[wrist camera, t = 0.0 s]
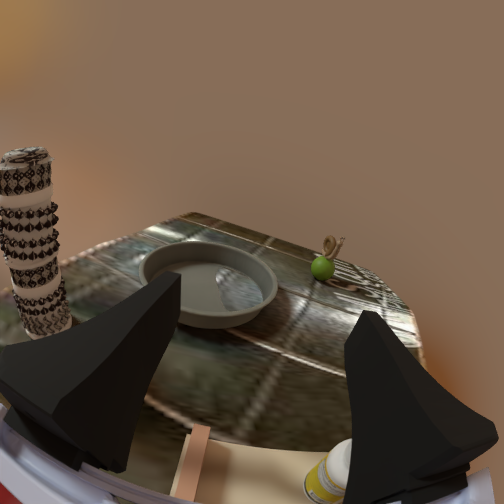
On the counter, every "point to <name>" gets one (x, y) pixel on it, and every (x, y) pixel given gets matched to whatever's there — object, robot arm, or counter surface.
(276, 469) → the strip
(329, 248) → the snail figurine
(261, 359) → the counter surface
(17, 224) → the decorative candle
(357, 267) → the counter surface
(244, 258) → the cake pan
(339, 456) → the supplement bottle
